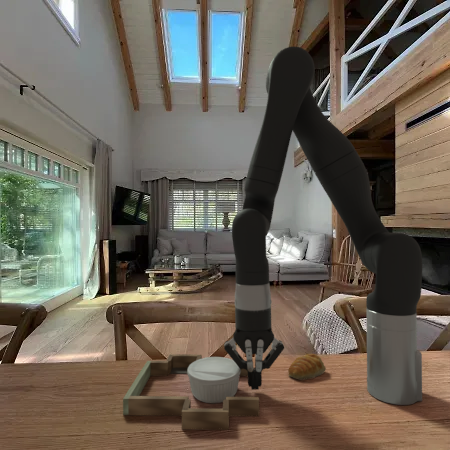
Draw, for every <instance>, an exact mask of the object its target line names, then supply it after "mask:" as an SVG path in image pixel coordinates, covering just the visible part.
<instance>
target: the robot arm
mask: <svg viewBox="0 0 450 450" xmlns="http://www.w3.org/2000/svg"><path fill="white" fill-rule="evenodd" d="M315 71H316V70H315V63H314V60H313V57H312V56H311V54H310V53H309V52H308V51H307V50H305V48H302V47H300V46H295V45H294V46H288V47H285V48H282V49H281V50H279V51H278V52H277V53H276V55H275V56H274V57H273V58H272V60H271V62H270V64H269V66H268V69H267V75H266V78H265V89H266V92H267V99H266V100H267V101H266V107H265V111H264V115H263V119H262V123H261V127H260V130H259V133H258V137H257V140H256V144H255V146H254V149H253V152H252V155H251V159H250V163H249V167H248V171H247V173H246V178H245V183H244V193H245V197H244V201H243V205H242V210H240V211H238V213H236V215H234V218H233V219H232V224H231V238H232V245H233V247H232V248H233V252H234V258H235V291H234V308H235V309H234V314H235V315H234V316H235V317H234V318H235V319H234V320H235V325H234V327H235V330H234V332H233V336H232V338H230V339H228V340H227V341H225V342H224V345H223V346H224V347H223V349H224V351H225V352H226V353H227V354H228V356H229V357H230V359H232V360H233V361H234V362H235V363H236V364H237V366H238V367H239V368H240V369H246V370H247V371H248V376H247V385H248V387H250V388H251V389H250V390H256V391H257V390H258V391H259V387H260V388H261V387H262V383H263V378H262V374H263V373H262V372H263V371H264V370H265V369H266V370H268V369H270V368H271V367H272V365H273V364H274V363H275V361H276V360H277V359H278V357H279V356H280V355H281V354H282V352H283V351H284V349H285V344H284V343H283V341H282V340H280V339H277V338H276V337H275V334H274V332H273V330H272V327H273V326H272V292H271V285H270V263H269V259H268V257H267V235H268V233H269V231H270V228H271V224H272V220H273V213H274V206H275V202H276V196H277V194H278V192H279V188H280V184H281V179H282V176H283V173H284V167H285V164H286V159H287V155H288V150H289V146H290V143H291V142H290V141H291V138H292V134H293V133H294V136H295V138H296V139H297V142H298V144H299V146H300V149H301V150H302V152H303V154H304V156H305V158H306V159H307V162H308V163H309V165H310V167H311V168H312V171H313V173H314V175H315V176H316V178H317V181H318V182H319V184H320V185H321V187H322V188H323V190H324V192H325V193H326V195H327V196H328V198H329V200H330V202H331V204H332V205H333V207H334V209H335V211H336V212H337V214H338V215H339V218H341V221H342V222H343V223H344V227H345V228H346V230H347V232H348V235H349V236H350V238H351V241H352V243H353V246H354V248H355V250H356V253H357V254H358V257H359V259H360V261H361V263H362V265H363V266H364V267H365V268H366V269H367V270H368V271H369V272H372V273H373V274H375V285H374V286H375V287H374V289H373V291H372V292H370V293H368V294H367V295H366V298H365V299H366V300H365V302H366V303H365V304H366V305H365V307H366V388H367V389H366V390H367V391H368V393H369V394H370V395H371V396H372V397H374V398H375V399H378V400H379V401H381V402H384V403H387V404H391V405H399V406H408V405H412V404H415V403H416V402H423V354H422V352H421V351H420V350H418V340H417V339H418V337H417V336H418V333H417V332H418V331H417V328H418V327H417V323H418V321H417V306H418V303H419V302H420V300H421V296H422V283H423V281H422V280H423V256H422V255H423V253H422V251H421V250H422V249H421V247H420V245H419V243H418V242H417V240H416V239H415V238H414V237H412V236H411V235H410V234H406V233H403V232H402V233H401V232H390V231H389V230H388V229H387V227H386V226H385V225H384V224H383V222H382V220H381V219H380V217H379V215H378V213H377V211H376V208H375V207H374V204H373V200H372V192H371V184H370V178H369V175H368V170H367V169H366V166H365V164H364V162H363V160H362V158H361V157H360V155H359V153H358V152H357V150H356V148H355V146H354V145H353V144H352V142H351V141H350V139H348V137H347V136H346V135H345V134H344V133H343V132H342V131H341V130H340V129H339V128H338V127H336V126H335V125H334V124H333V123H332V122H331V121H330V120H329V119H328V118H327V117H326V116H325V114H324V112H323V111H322V110H321V108H320V106H319V105H318V103H317V101H316V98H315V96H314V94H313V92H312V90H311V85H312V84H313V82H314V78H315V73H316V72H315ZM236 344H237V345H236ZM237 346H238V348H239V349H240V351H242V353H243V354H245V355H246V360H245V359H244V357H242V356H241V354H240V353H239V352H238V351H237ZM270 346H271V349H270V351H269V352H268V353H267V354H266V356H265V357H264V356H263V355H264V354H265V353H266V351H267V350H268V349H269V348H270ZM253 355H254V356H255V358H254V360H253ZM263 357H264V359H263ZM254 366H255V367H254Z"/></svg>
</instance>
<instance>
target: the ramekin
mask: <svg viewBox="0 0 450 450" xmlns="http://www.w3.org/2000/svg"><path fill="white" fill-rule="evenodd" d="M187 373H188V374H187V377H188V380H189V385H190V390H191V394H192V395H193V396H194V398H195V399H196V400H198V401H200V402H203V403H206V404H221V403H223V400H226V397H235V395H236V393H237V391H238V388H239V382H240V381H239V380H240V376H239V375H240V373H241V369H240V368H239V367H238V366H237V364H236V363H235V362H234V361H233V359H232V358H229V357H228V358H227V357H223V356H208V357H202V359H199V360H196V361H194V362H193V363H191V364H190V365H189V367H188V369H187Z"/></svg>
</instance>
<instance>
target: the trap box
mask: <svg viewBox="0 0 450 450" xmlns="http://www.w3.org/2000/svg"><path fill="white" fill-rule="evenodd" d="M202 356H203V355H202V354H178V353H177V354H176V353H175V354H172V353H171V354H170V353H169V355H168V357H167V359H166V360H147V361H146V363H145V364H144V365H143V367H142V369H141V370H140V372H139V373H138V374H137V376H136V378H135V379H134V381H133V382H132V384H131V385H130V387H129V389H128V390H127V392H126V394H125V395H124V396H123V398H122V415H123V416H171V417H172V416H176V417H177V416H179V417H181V430H215V431H218V430H221V431H222V430H223V431H224V430H225V431H228V430H229V428H230V425H229V424H230V423H229V422H230V421H229V419H230V417H259V416H260V398H259V396H233V397H226V400H223V402H222V408H198V407H197V408H196V407H195V408H192V407H191V401H192V399H191V398H189V395H188V396H187V395H186V396H185V395H184V396H183V395H182V396H180V395H179V396H177V395H176V396H175V395H170V396H169V395H168V396H167V395H141V394H142V392H143V390H144V388H145V387H146V385H147V383H148V381H149V379H150V377H151V376H157V377H159V376H161V377H162V376H163V377H165V376H166V377H168V376H169V375H171V374H172V375H174V374H175V375H188V373H187V369H188V367H189V365H190V364H191V363H193V362H194V361H196V360H199V359H202V358H203V357H202ZM239 377H248V371H247V370H246V369H241V373H240V375H239ZM229 431H230V430H229Z"/></svg>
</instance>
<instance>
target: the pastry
mask: <svg viewBox="0 0 450 450" xmlns="http://www.w3.org/2000/svg"><path fill="white" fill-rule="evenodd" d="M324 363H325V362H323V360H322V358H321V357H320V356H319V355H317V354H315V353H306V354H304V355H302V356H299V357H296V358H295V359H294V361H293V362H292V363H291V364H290V365H289V367H288V369H287V370H288V377H291V378H293V379H297V380H300V381H304V380H311V379H314V378H317V377H319V376H321V375H323V374H324V373H325V372H326V370H327V369H326V368H327V367H326V366H325V364H324Z"/></svg>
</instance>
